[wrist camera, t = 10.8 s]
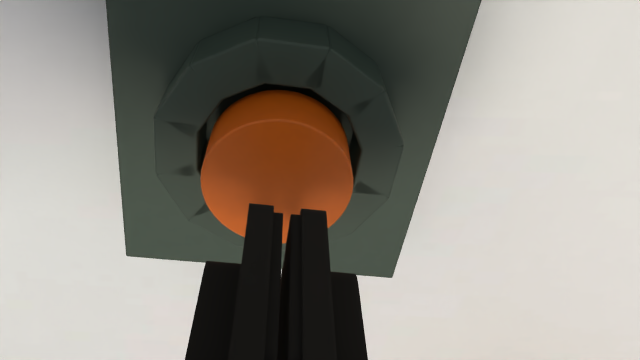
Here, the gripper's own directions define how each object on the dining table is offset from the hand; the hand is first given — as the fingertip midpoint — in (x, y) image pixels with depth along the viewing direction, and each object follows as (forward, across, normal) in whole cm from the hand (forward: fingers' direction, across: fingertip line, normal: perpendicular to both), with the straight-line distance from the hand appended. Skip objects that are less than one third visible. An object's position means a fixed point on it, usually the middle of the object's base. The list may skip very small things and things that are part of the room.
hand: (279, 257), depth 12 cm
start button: (+4, 0, 0) cm, 4 cm away
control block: (+8, 0, 0) cm, 8 cm away
